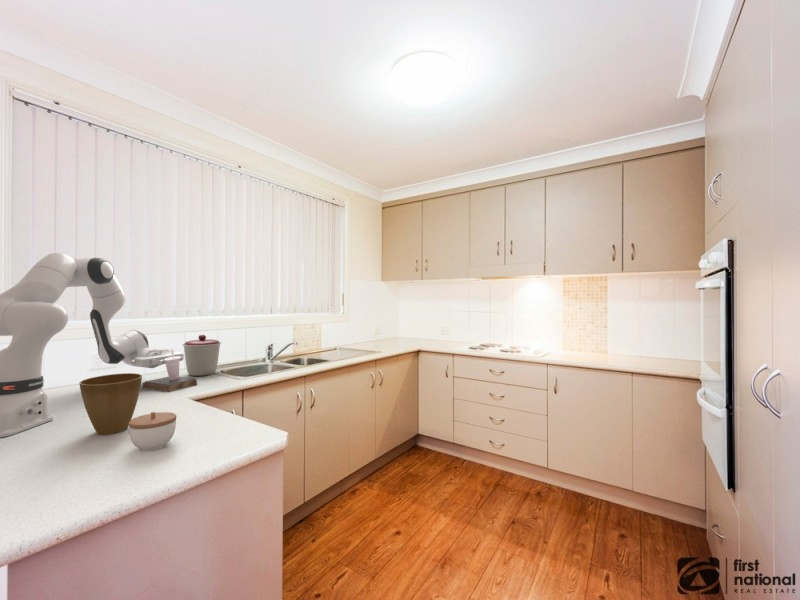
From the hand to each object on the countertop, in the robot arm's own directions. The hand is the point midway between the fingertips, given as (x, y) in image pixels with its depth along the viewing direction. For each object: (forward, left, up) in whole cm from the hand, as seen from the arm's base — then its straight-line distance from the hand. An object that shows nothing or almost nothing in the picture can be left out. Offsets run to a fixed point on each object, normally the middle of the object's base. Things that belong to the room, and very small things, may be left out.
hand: (171, 360), depth 164 cm
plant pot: (-57, -2, -12) cm, 58 cm away
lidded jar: (-73, -19, -12) cm, 77 cm away
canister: (+27, -5, -12) cm, 30 cm away
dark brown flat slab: (+1, +1, -12) cm, 12 cm away
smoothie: (+2, 0, -9) cm, 9 cm away
